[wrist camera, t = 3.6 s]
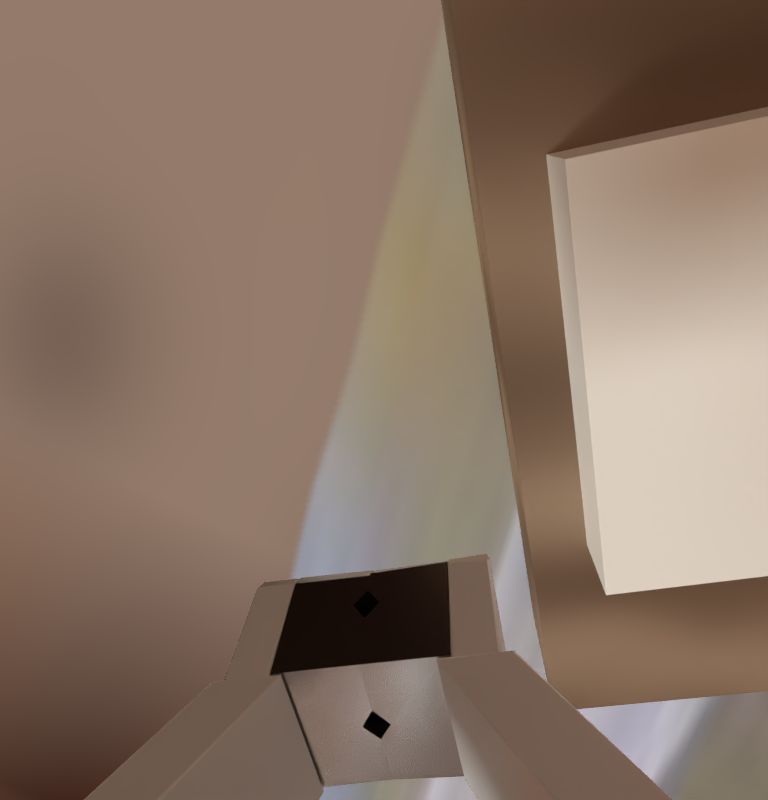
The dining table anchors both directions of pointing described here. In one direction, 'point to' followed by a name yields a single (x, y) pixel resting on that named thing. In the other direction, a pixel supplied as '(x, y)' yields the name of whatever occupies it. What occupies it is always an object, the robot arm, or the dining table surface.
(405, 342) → the dining table surface
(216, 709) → the robot arm
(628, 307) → the cream flat block
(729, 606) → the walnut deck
